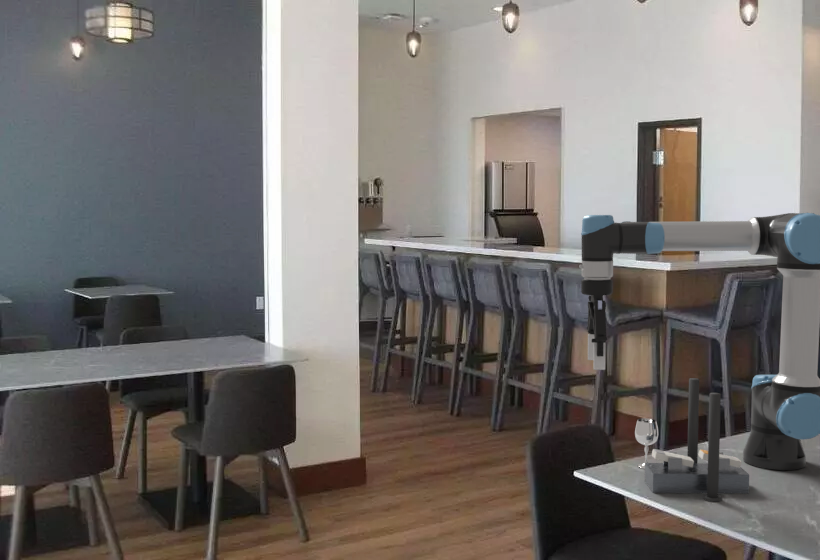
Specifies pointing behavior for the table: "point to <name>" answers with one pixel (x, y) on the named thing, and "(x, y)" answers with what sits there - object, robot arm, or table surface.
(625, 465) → the table surface
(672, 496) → the table surface
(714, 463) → the post near
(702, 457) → the paddle
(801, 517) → the table surface
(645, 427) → the wineglass
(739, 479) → the panel
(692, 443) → the post far
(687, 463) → the paddle
